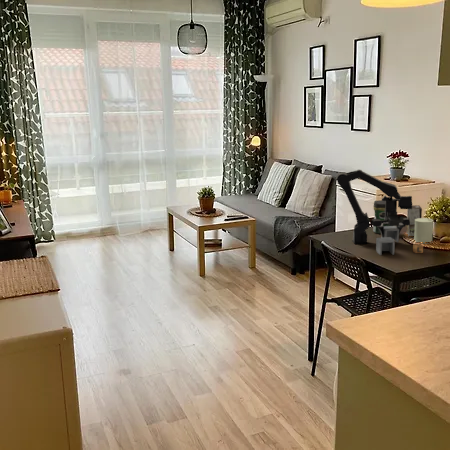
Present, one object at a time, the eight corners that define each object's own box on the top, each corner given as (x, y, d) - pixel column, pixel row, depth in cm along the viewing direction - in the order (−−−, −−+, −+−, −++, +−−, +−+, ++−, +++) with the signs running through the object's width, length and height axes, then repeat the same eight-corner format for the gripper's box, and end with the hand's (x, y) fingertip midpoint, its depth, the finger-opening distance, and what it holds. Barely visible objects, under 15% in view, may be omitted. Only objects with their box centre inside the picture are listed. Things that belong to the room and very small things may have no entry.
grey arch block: (385, 242, 266) (385, 229, 265) (381, 239, 273) (381, 226, 272) (398, 242, 266) (399, 229, 265) (394, 238, 273) (395, 225, 271)
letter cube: (415, 253, 252) (415, 246, 251) (412, 251, 256) (413, 244, 255) (422, 252, 252) (423, 245, 251) (420, 250, 256) (420, 243, 255)
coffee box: (421, 237, 278) (422, 208, 274) (408, 237, 279) (409, 208, 276) (418, 233, 287) (419, 205, 283) (406, 233, 288) (407, 205, 284)
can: (434, 243, 266) (435, 221, 263) (415, 243, 268) (416, 221, 265) (430, 238, 275) (431, 217, 272) (412, 238, 277) (413, 217, 274)
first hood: (379, 255, 251) (380, 241, 250) (376, 251, 258) (376, 237, 257) (394, 254, 251) (394, 240, 250) (390, 250, 258) (390, 237, 256)
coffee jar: (388, 230, 296) (389, 198, 291) (392, 233, 288) (393, 201, 284) (371, 230, 297) (372, 199, 292) (374, 234, 289) (375, 202, 284)
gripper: (376, 213, 258) (376, 242, 262) (414, 211, 258) (413, 241, 261) (371, 208, 269) (370, 237, 273) (407, 207, 268) (405, 235, 272)
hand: (389, 237), depth 269 cm, fingers closed on grey arch block, 7 cm apart
